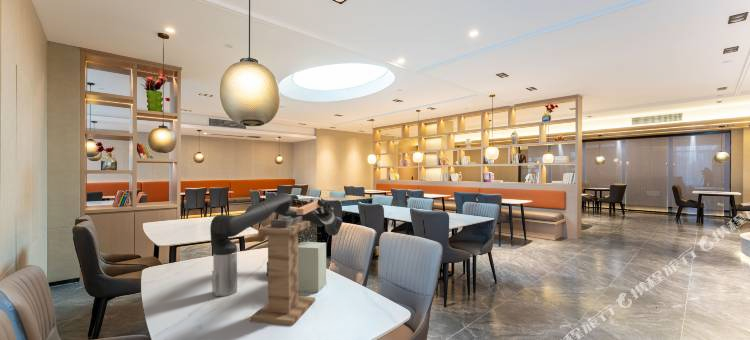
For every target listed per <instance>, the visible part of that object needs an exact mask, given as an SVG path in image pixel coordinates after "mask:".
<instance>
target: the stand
mask: <svg viewBox="0 0 750 340" xmlns="http://www.w3.org/2000/svg"><path fill="white" fill-rule="evenodd" d="M309 227H311V223H310V221H303V220H302V216H299V217H296V218H291V216H287V217H286V216H283V217H281V218H279V219H271V220H270V224H268V225H265V226H261V227H259V228H258V230H257V231H258V232H257V234H258V235H267V262H268V276H267V294H268V296H267V297H268V298H267V303H266V304H264V305H263V306H262V307H260V308H259V309H258V310H256V312H254V313H253V314H252V315H250V320H249V321H250V322H255V323H256V322H257V323H266V324H267V323H269V324H279V325H287V326H288V325H289V326H294V325H295V324H296V323H297V322H298V321H299V319H300V318H301V317H302V316H303V315H304V314H305V313H306V312H307V311H308V310H309V308H311V306H313V304H314V303H315V302H316V297H312V296H301V295H299V291H298V244H299V232H301V231H303V230H305V229H307V228H309Z"/></svg>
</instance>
